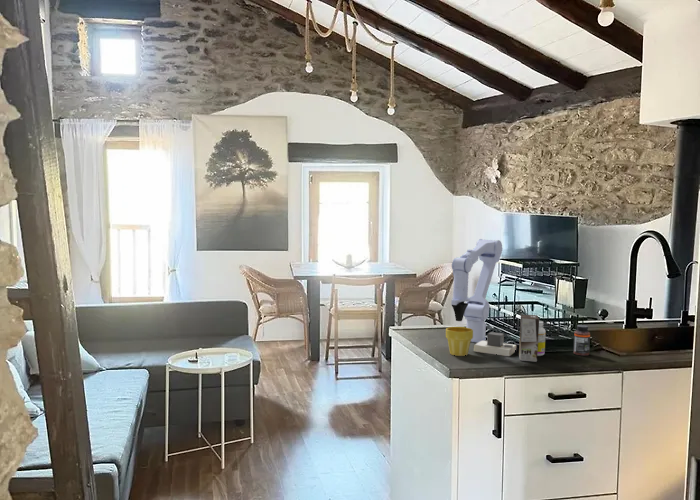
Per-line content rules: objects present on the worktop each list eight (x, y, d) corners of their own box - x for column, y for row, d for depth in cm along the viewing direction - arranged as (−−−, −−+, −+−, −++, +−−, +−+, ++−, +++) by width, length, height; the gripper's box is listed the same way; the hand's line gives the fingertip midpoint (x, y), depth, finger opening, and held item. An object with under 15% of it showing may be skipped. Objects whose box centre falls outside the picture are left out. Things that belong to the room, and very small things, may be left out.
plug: (490, 348, 265) (491, 331, 264) (503, 349, 262) (503, 333, 262) (486, 350, 261) (487, 333, 261) (499, 352, 259) (500, 335, 258)
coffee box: (537, 362, 246) (539, 319, 245) (519, 360, 248) (521, 318, 246) (535, 356, 255) (537, 314, 254) (518, 355, 257) (520, 313, 255)
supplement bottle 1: (524, 351, 262) (526, 319, 261) (541, 352, 262) (542, 319, 261) (529, 356, 255) (531, 323, 254) (546, 356, 255) (548, 323, 254)
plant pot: (442, 351, 260) (443, 326, 259) (467, 351, 261) (468, 326, 260) (448, 357, 250) (449, 331, 249) (475, 357, 251) (476, 332, 250)
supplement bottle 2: (577, 351, 265) (579, 323, 264) (592, 354, 260) (593, 326, 259) (570, 354, 260) (571, 325, 260) (584, 356, 256) (586, 327, 255)
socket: (481, 346, 270) (481, 338, 269) (515, 351, 263) (516, 343, 263) (473, 351, 261) (473, 343, 261) (508, 356, 254) (509, 348, 254)
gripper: (464, 290, 259) (462, 324, 259) (476, 286, 271) (474, 319, 272) (447, 288, 262) (445, 322, 263) (459, 285, 275) (457, 317, 276)
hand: (458, 320), depth 268 cm, fingers closed
